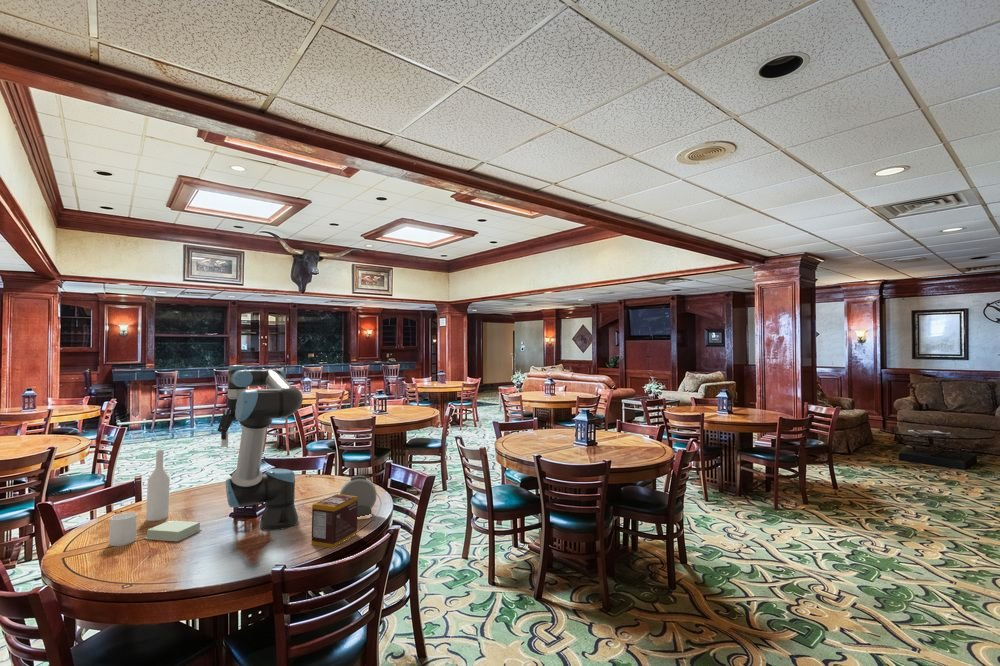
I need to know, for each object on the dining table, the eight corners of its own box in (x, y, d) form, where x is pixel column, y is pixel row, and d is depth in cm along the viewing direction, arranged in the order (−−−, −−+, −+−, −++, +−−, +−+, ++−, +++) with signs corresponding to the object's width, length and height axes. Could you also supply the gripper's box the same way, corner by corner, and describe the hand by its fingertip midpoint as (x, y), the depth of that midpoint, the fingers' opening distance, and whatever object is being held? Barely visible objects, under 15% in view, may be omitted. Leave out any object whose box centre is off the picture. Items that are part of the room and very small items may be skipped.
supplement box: (357, 534, 196) (358, 495, 197) (333, 548, 182) (333, 507, 182) (336, 531, 199) (337, 493, 200) (310, 544, 185) (311, 504, 186)
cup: (107, 548, 180) (108, 521, 181) (111, 538, 190) (112, 512, 191) (134, 543, 185) (136, 517, 185) (137, 533, 195) (138, 508, 195)
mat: (201, 530, 199) (201, 529, 199) (177, 541, 187) (177, 540, 187) (169, 528, 201) (169, 527, 202) (144, 538, 190) (144, 537, 190)
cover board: (199, 529, 199) (199, 522, 199) (178, 539, 188) (178, 531, 188) (169, 527, 201) (170, 520, 201) (147, 537, 190) (147, 529, 190)
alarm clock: (375, 511, 225) (375, 472, 226) (376, 518, 215) (377, 477, 216) (339, 514, 220) (339, 474, 221) (338, 522, 210) (339, 480, 211)
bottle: (147, 522, 208) (149, 453, 209) (145, 517, 214) (148, 450, 215) (169, 518, 213) (172, 450, 215) (167, 513, 219) (169, 448, 221)
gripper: (247, 395, 237) (245, 438, 236) (209, 400, 212) (207, 448, 211) (260, 396, 236) (259, 439, 235) (224, 400, 211) (223, 449, 210)
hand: (235, 443), depth 223 cm, fingers open, 13 cm apart
